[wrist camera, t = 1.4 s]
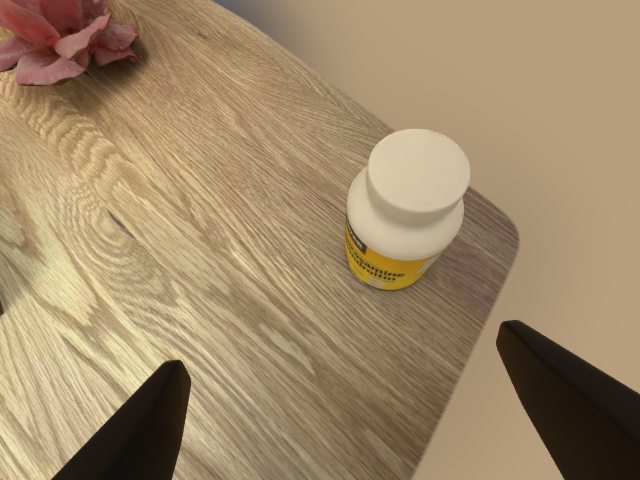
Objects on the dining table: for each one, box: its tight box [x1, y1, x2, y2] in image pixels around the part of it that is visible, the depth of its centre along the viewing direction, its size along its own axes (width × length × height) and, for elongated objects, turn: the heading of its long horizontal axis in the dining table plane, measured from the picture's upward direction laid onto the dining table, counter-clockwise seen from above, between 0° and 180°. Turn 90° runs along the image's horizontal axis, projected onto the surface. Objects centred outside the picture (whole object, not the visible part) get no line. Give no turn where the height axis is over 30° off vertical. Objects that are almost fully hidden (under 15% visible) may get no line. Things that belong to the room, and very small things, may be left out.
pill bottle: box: [345, 129, 470, 292], centre depth 20 cm, size 6×6×12 cm
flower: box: [0, 0, 139, 86], centre depth 32 cm, size 15×15×10 cm
